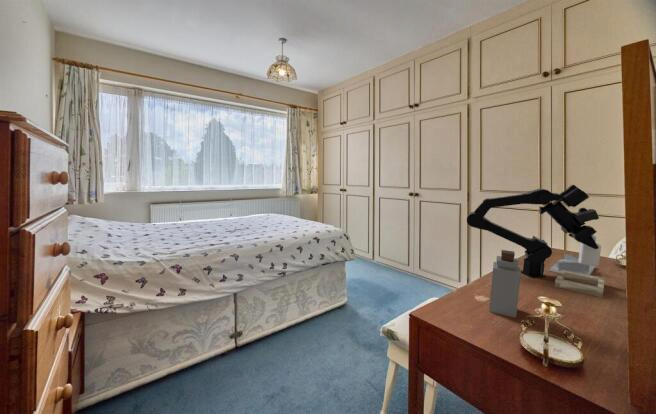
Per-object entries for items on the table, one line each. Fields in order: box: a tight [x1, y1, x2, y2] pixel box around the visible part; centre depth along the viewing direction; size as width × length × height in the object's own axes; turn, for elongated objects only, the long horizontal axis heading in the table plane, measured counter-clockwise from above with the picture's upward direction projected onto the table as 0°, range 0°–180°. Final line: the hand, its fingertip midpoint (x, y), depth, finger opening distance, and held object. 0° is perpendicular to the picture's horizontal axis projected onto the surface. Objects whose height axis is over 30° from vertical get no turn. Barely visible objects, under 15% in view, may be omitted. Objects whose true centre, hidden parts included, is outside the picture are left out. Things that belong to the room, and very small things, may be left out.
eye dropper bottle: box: [578, 234, 602, 267], centre depth 107 cm, size 4×6×12 cm
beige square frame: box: [554, 270, 605, 298], centre depth 106 cm, size 16×13×2 cm
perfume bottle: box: [488, 249, 522, 319], centre depth 86 cm, size 7×7×18 cm
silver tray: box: [549, 253, 596, 275], centre depth 123 cm, size 12×20×4 cm, turn 132°
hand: (595, 247), depth 107 cm, fingers closed on eye dropper bottle, 3 cm apart
